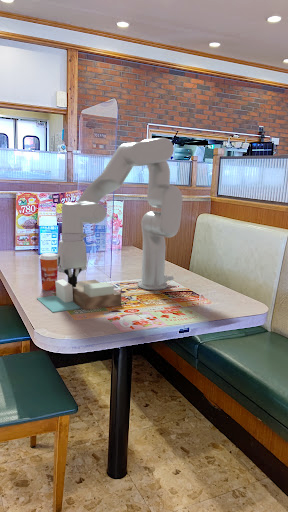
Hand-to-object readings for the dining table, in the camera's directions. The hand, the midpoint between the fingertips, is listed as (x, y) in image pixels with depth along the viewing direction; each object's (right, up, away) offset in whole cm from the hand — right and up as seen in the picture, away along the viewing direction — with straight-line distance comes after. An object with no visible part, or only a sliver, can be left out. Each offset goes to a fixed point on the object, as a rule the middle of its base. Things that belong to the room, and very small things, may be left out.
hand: (72, 286), depth 149 cm
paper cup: (-11, -2, +13) cm, 17 cm away
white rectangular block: (-1, -1, 0) cm, 2 cm away
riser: (+6, -5, +2) cm, 8 cm away
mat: (-4, -6, -5) cm, 9 cm away
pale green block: (+10, -2, -5) cm, 12 cm away
